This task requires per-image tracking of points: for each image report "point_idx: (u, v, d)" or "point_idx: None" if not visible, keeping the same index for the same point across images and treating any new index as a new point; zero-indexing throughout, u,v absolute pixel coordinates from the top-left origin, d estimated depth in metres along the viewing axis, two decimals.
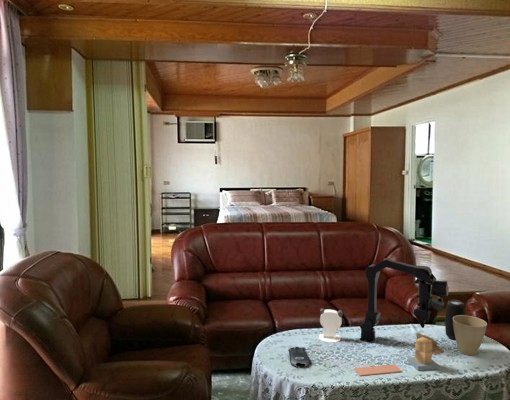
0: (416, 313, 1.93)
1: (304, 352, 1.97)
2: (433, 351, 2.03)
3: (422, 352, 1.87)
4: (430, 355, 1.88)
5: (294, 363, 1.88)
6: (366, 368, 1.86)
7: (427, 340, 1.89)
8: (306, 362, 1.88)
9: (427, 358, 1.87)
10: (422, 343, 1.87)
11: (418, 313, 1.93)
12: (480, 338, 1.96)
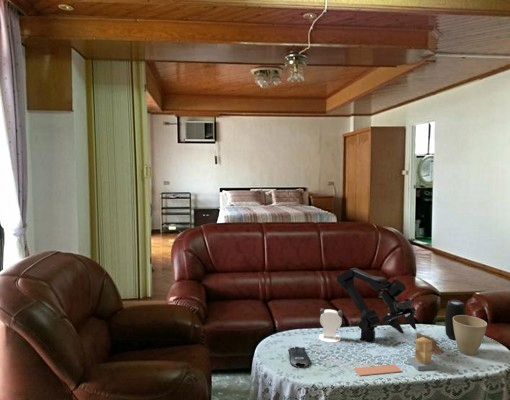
0: (384, 321, 1.96)
1: (304, 352, 1.97)
2: (433, 351, 2.03)
3: (422, 352, 1.87)
4: (430, 355, 1.88)
5: (294, 363, 1.88)
6: (366, 368, 1.86)
7: (427, 340, 1.89)
8: (306, 362, 1.88)
9: (427, 358, 1.87)
10: (422, 343, 1.87)
11: (385, 319, 1.95)
12: (480, 338, 1.96)
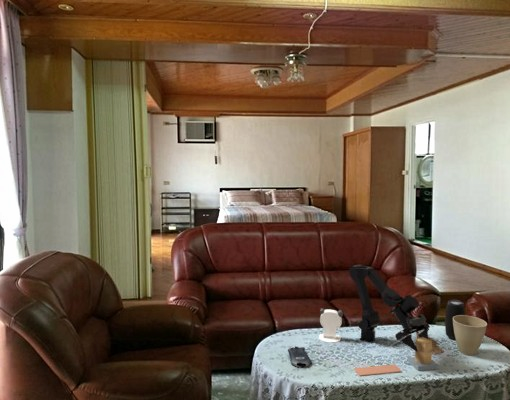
0: (397, 338, 1.90)
1: (304, 352, 1.97)
2: (433, 351, 2.03)
3: (422, 352, 1.87)
4: (430, 355, 1.88)
5: (295, 363, 1.88)
6: (366, 368, 1.86)
7: (427, 340, 1.89)
8: (307, 362, 1.89)
9: (427, 358, 1.87)
10: (422, 343, 1.87)
11: (398, 337, 1.89)
12: (480, 338, 1.96)
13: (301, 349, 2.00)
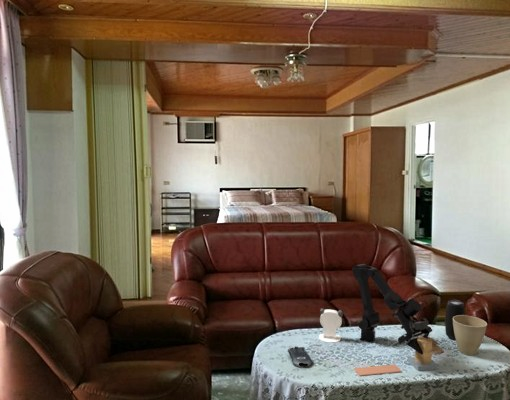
0: (400, 342, 1.88)
1: (304, 352, 1.98)
2: (433, 351, 2.03)
3: None
4: (430, 355, 1.88)
5: (297, 363, 1.88)
6: (366, 368, 1.86)
7: (427, 340, 1.89)
8: (309, 362, 1.89)
9: (427, 358, 1.87)
10: (422, 343, 1.87)
11: (401, 341, 1.88)
12: (480, 338, 1.96)
13: (301, 349, 2.01)
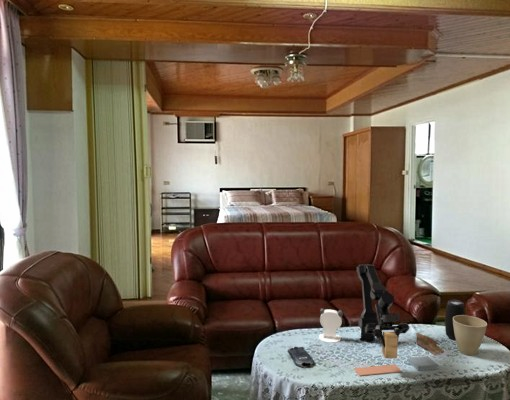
0: (365, 330, 1.88)
1: (304, 351, 1.98)
2: (433, 351, 2.03)
3: (385, 345, 1.82)
4: (395, 351, 1.81)
5: (300, 363, 1.88)
6: (366, 368, 1.86)
7: (394, 334, 1.82)
8: (311, 361, 1.89)
9: (391, 353, 1.81)
10: (385, 336, 1.82)
11: (365, 329, 1.88)
12: (480, 338, 1.96)
13: (301, 349, 2.01)
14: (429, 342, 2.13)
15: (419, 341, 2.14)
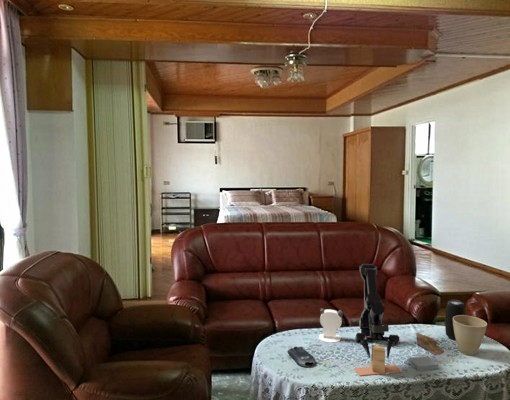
0: (355, 340, 1.90)
1: (305, 351, 1.98)
2: (433, 351, 2.03)
3: (372, 358, 1.83)
4: (382, 365, 1.82)
5: (303, 363, 1.88)
6: (366, 368, 1.86)
7: (382, 349, 1.83)
8: (313, 360, 1.90)
9: (378, 367, 1.82)
10: (373, 349, 1.83)
11: (355, 339, 1.90)
12: (480, 338, 1.96)
13: (300, 348, 2.01)
14: (429, 342, 2.13)
15: (419, 341, 2.14)
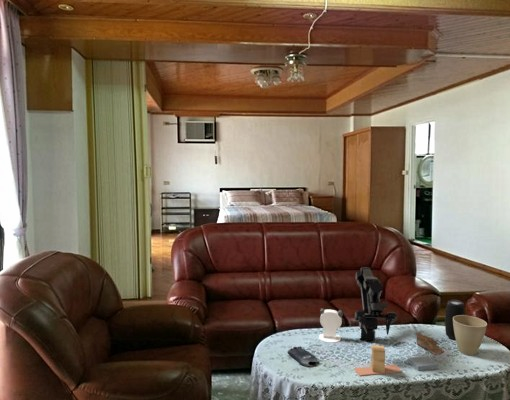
0: (355, 317, 1.99)
1: (305, 350, 1.99)
2: (433, 351, 2.03)
3: (372, 358, 1.83)
4: (382, 365, 1.82)
5: (306, 363, 1.88)
6: (366, 368, 1.86)
7: (382, 349, 1.83)
8: (316, 359, 1.91)
9: (378, 367, 1.82)
10: (373, 349, 1.83)
11: (355, 316, 1.98)
12: (480, 338, 1.96)
13: (300, 348, 2.01)
14: (429, 342, 2.13)
15: (419, 341, 2.14)
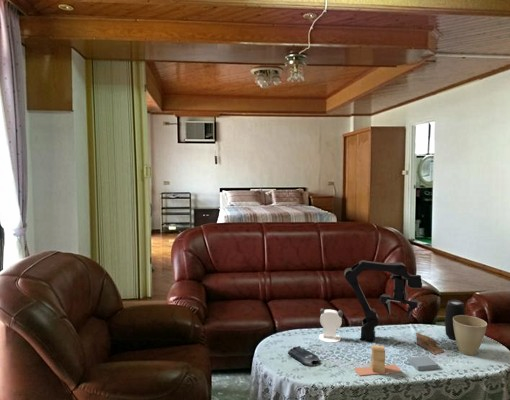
0: (417, 306, 2.07)
1: (305, 350, 2.00)
2: (433, 351, 2.03)
3: (372, 358, 1.83)
4: (382, 365, 1.82)
5: (309, 362, 1.89)
6: (366, 368, 1.86)
7: (382, 349, 1.83)
8: (317, 358, 1.92)
9: (378, 367, 1.82)
10: (373, 349, 1.83)
11: (418, 305, 2.08)
12: (480, 338, 1.96)
13: (299, 348, 2.01)
14: (429, 342, 2.13)
15: (419, 341, 2.14)
